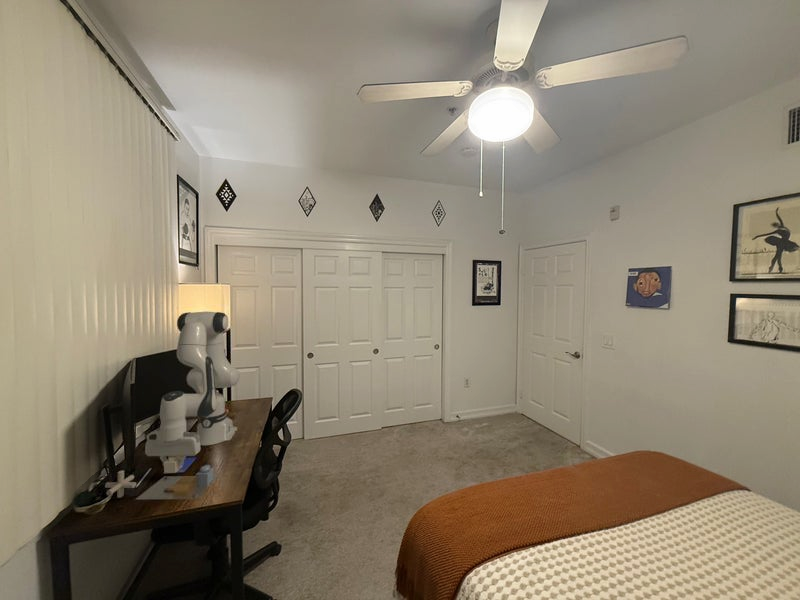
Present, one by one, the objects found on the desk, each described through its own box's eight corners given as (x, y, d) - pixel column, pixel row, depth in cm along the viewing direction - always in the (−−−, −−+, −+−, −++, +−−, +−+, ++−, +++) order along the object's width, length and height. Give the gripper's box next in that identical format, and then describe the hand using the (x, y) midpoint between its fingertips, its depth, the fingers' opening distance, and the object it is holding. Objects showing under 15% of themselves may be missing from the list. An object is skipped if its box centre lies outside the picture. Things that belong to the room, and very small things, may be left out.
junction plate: (164, 478, 130) (164, 475, 130) (217, 477, 131) (217, 475, 131) (135, 501, 115) (135, 498, 115) (195, 500, 116) (196, 497, 116)
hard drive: (184, 471, 134) (197, 457, 146) (162, 472, 132) (177, 458, 144) (183, 475, 134) (196, 460, 146) (162, 476, 132) (177, 461, 144)
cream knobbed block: (171, 466, 130) (171, 452, 130) (182, 466, 130) (182, 452, 130) (164, 472, 126) (164, 458, 126) (175, 472, 126) (175, 458, 126)
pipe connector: (144, 490, 122) (145, 464, 122) (122, 507, 112) (123, 479, 112) (118, 490, 122) (119, 464, 122) (94, 507, 112) (94, 479, 112)
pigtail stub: (168, 486, 123) (168, 476, 123) (196, 486, 123) (197, 476, 123) (158, 495, 118) (158, 484, 118) (188, 495, 118) (188, 484, 118)
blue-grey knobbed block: (202, 478, 129) (203, 464, 129) (213, 478, 129) (213, 464, 129) (196, 484, 125) (196, 470, 125) (207, 484, 125) (207, 469, 125)
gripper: (203, 428, 131) (203, 460, 132) (153, 428, 130) (154, 461, 131) (194, 435, 125) (194, 469, 125) (142, 435, 124) (142, 469, 124)
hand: (173, 465), depth 128 cm, fingers closed on cream knobbed block, 4 cm apart
